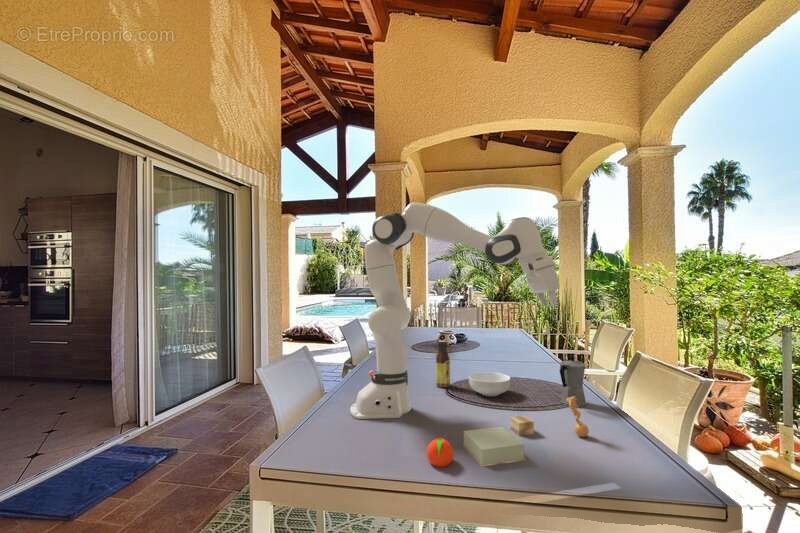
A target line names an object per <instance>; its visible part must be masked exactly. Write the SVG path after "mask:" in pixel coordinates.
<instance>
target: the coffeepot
mask: <svg viewBox="0 0 800 533" xmlns="http://www.w3.org/2000/svg"><path fill="white" fill-rule="evenodd" d="M569 357H570V358H569V359H570V360H563V361H560V362H559V376H560V379H561V383H562V390H561V396H560V403H561V404H562V403H564V404H565V405H564V404H563V405H564V406H566V405H567V407H570V406H569V404H568V403H567V398H569V397H573V396H575V397H576V400H575V402H576V405H577V406H578V408H583V407H585V406H586V405H587V400H586V397H585V391H584V386H583V383H584V378H585V376H584V375H585V370H586V363H583V362H582V361H577V360H575V356H574V355H569ZM576 405H575V406H576Z"/></svg>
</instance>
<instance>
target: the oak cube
mask: <svg viewBox="0 0 800 533" xmlns="http://www.w3.org/2000/svg"><path fill="white" fill-rule="evenodd" d="M509 418H510V430H511V431H512V432H514V434H516V435H518V436H519V437H520V436H528V435H534V434H535V426H534V425H535V421H533V419H531V418H529V417H528V416H526V415H517V416H510V417H509Z"/></svg>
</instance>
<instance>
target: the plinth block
mask: <svg viewBox="0 0 800 533" xmlns="http://www.w3.org/2000/svg"><path fill="white" fill-rule="evenodd" d="M463 444H464V446H465V447H466V448H467V449H468V450H469V451H470V452H471V453H472V455H473V456H474V457H475V458H476V459H477V460H478V461H479V462H480V463H481V464H482V465H488V464H495V463H502V462H509V461H516V460H523V459H524V458H525V444H524V442H522V441H520V439H518V438H517V437H516V436H514V434H512V433H511V432H509V430H507V429H505V427H503V426H495V427H487V428H477V429H470V430H463Z"/></svg>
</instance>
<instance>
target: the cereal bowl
mask: <svg viewBox="0 0 800 533" xmlns="http://www.w3.org/2000/svg"><path fill="white" fill-rule="evenodd" d="M468 382H469V386H470V387H471V389H472V390H473V391H474V392H477V393H479V394H480V395H481V394H482V396H484V395H485V396H484V397H497V396H500V395H501V394H503V393H506V392H507V391H508V390H509V389H510V386H511V383H512V382H511V377H510V376H509V375H507V374H504V373H501V372H492V371H483V372H482V371H481V372H479V371H478V372H474V373H470V374H469V375H468Z"/></svg>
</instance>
